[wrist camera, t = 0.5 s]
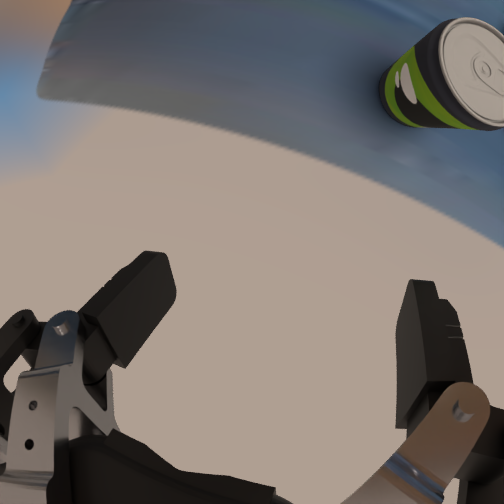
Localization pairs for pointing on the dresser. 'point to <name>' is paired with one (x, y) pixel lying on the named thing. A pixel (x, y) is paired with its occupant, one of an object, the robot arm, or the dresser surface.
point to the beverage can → (449, 79)
